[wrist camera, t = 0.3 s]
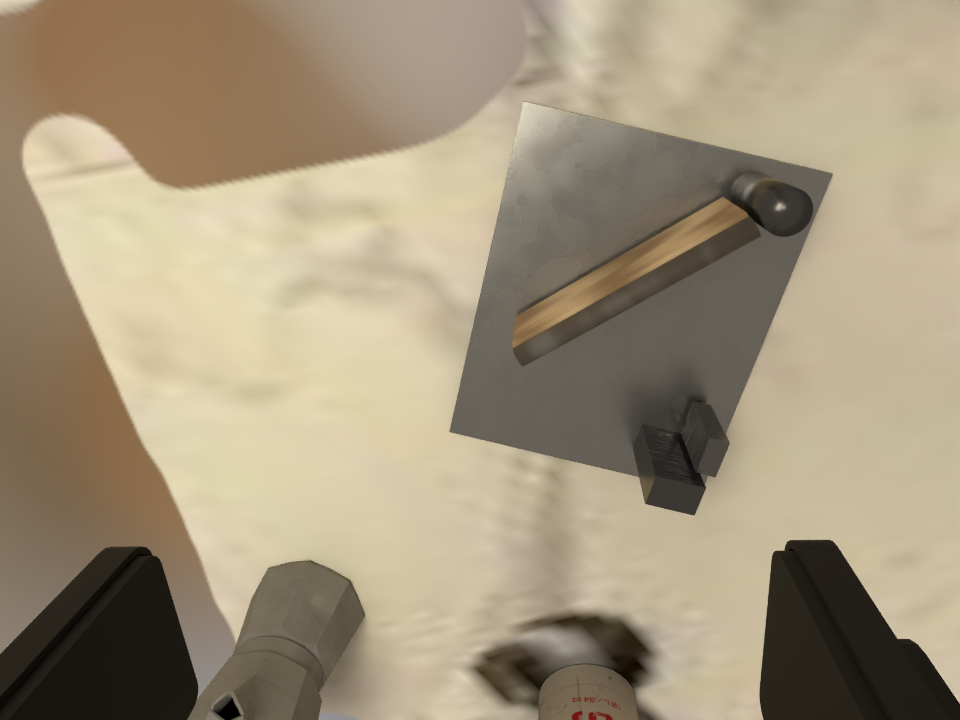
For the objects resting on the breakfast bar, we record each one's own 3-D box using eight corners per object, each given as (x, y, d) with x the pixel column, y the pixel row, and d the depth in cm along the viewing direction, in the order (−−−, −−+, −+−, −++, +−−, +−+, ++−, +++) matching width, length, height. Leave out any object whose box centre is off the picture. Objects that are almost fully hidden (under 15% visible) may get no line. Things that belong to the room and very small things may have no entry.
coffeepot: (251, 528, 52) (113, 735, 36) (370, 548, 52) (286, 765, 35) (254, 673, 58) (137, 907, 42) (360, 691, 58) (284, 935, 41)
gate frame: (523, 101, 39) (518, 104, 32) (829, 172, 39) (885, 190, 32) (450, 428, 47) (434, 483, 41) (699, 487, 47) (723, 551, 41)
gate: (722, 196, 39) (751, 215, 33) (734, 219, 39) (764, 241, 34) (515, 315, 43) (510, 350, 37) (528, 335, 43) (524, 372, 37)
